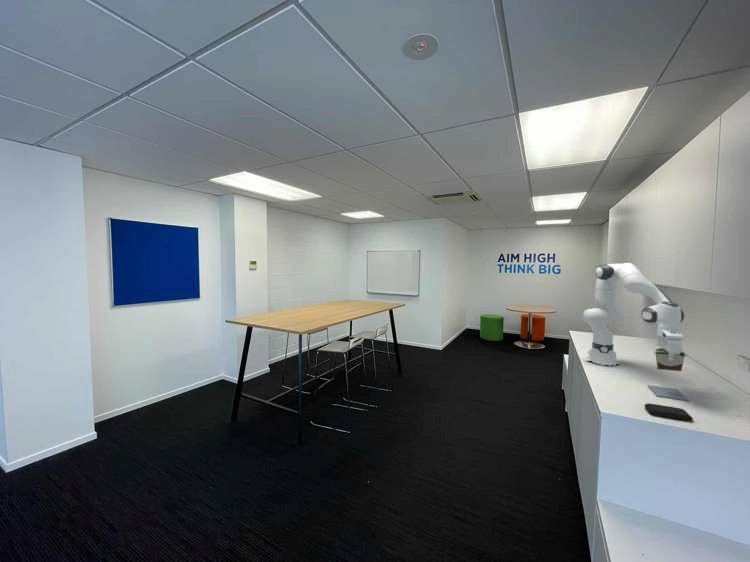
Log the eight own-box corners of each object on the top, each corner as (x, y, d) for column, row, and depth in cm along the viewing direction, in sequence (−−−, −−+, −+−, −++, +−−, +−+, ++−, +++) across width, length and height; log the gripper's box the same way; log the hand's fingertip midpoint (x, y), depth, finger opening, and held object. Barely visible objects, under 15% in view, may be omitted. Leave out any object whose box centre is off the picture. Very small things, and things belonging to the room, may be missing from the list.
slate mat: (647, 386, 167) (647, 384, 167) (676, 390, 161) (676, 388, 161) (656, 396, 154) (656, 395, 154) (688, 401, 148) (688, 399, 148)
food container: (679, 367, 158) (680, 349, 157) (685, 371, 153) (686, 353, 152) (649, 364, 164) (650, 347, 163) (654, 368, 158) (655, 350, 157)
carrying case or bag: (683, 413, 137) (642, 406, 144) (684, 406, 137) (642, 400, 144) (694, 424, 128) (649, 416, 135) (694, 417, 128) (649, 409, 135)
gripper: (654, 328, 167) (653, 352, 168) (667, 336, 149) (666, 362, 150) (669, 329, 164) (668, 354, 165) (684, 337, 146) (683, 364, 147)
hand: (667, 358), depth 157 cm, fingers closed on food container, 5 cm apart
